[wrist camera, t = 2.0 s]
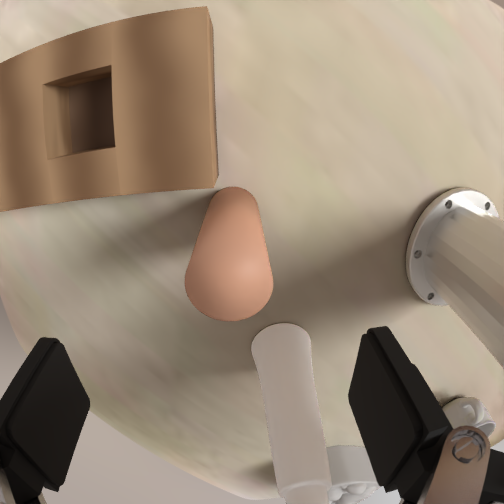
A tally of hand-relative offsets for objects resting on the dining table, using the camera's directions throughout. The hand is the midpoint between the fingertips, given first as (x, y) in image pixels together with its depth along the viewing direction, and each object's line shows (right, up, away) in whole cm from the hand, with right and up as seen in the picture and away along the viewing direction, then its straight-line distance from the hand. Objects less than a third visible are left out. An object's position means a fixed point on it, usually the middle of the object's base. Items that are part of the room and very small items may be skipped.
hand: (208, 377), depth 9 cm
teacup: (+34, -21, +30) cm, 50 cm away
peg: (0, +7, +16) cm, 18 cm away
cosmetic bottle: (+4, -6, +22) cm, 23 cm away
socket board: (-11, +15, +13) cm, 22 cm away
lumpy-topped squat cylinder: (+14, -30, +33) cm, 47 cm away
